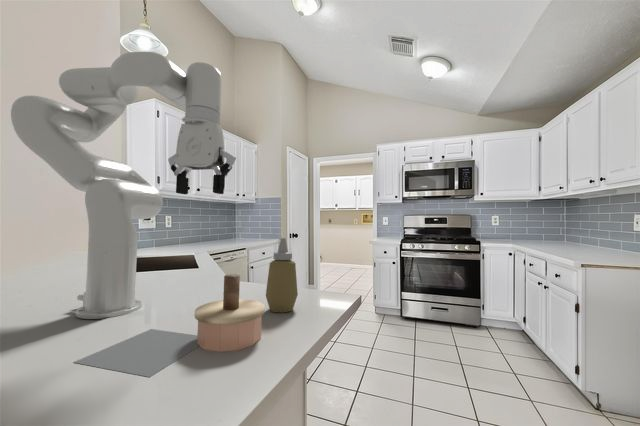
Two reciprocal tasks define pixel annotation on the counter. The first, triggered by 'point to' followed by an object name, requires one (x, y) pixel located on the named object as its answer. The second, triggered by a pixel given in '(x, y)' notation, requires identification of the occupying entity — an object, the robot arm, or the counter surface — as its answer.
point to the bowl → (229, 335)
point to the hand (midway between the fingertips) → (199, 193)
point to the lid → (230, 306)
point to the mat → (143, 353)
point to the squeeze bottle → (282, 281)
